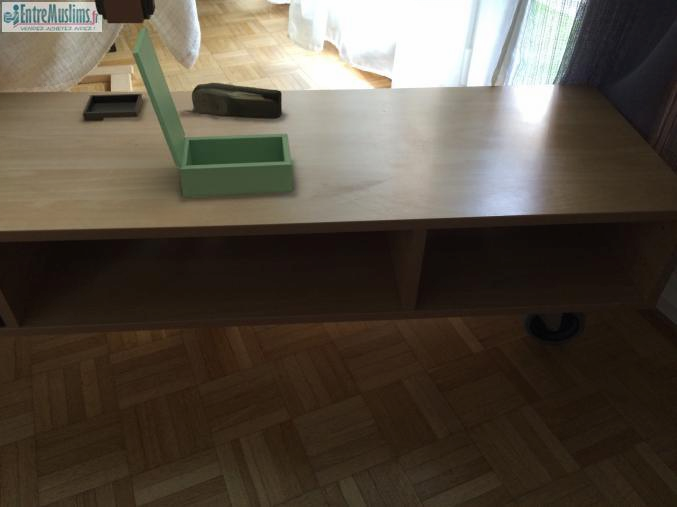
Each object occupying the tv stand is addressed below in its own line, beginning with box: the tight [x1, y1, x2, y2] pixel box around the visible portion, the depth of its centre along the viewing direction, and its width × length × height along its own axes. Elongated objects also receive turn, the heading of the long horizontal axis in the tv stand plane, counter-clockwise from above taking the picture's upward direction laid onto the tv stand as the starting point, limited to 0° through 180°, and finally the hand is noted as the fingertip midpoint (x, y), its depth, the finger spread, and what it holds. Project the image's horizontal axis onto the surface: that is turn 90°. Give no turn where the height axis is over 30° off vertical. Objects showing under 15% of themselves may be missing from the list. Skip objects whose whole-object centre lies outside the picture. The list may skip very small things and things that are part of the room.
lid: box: [132, 26, 186, 167], centre depth 72 cm, size 14×8×1 cm
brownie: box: [103, 0, 146, 24], centre depth 78 cm, size 4×4×4 cm
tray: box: [82, 93, 144, 122], centre depth 95 cm, size 8×6×2 cm
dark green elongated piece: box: [183, 82, 283, 120], centre depth 93 cm, size 5×3×15 cm
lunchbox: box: [178, 133, 293, 198], centre depth 79 cm, size 14×8×5 cm, turn 97°
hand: (127, 17), depth 79 cm, fingers closed on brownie, 4 cm apart
